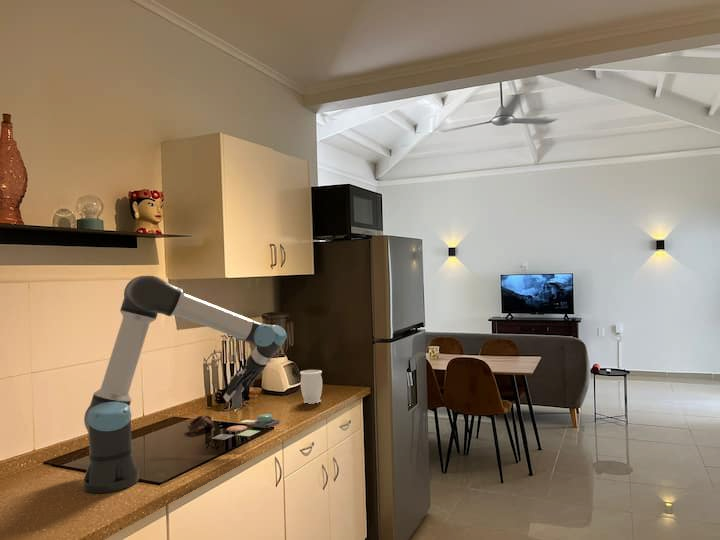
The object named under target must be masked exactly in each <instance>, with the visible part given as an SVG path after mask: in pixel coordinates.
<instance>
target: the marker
mask: <svg viewBox="0 0 720 540" xmlns="http://www.w3.org/2000/svg"><path fill="white" fill-rule="evenodd" d="M233 377H234V376H231V377H230V381H231V380H232V379H233ZM241 385H242V384H241ZM241 385H240V386H239V387H238V388H237V389H236V392H235V393H234V395H233V396H232V397H231V402H232V403H231V406H232V409H241V408H243V395H242V393H243V391H242V390H241Z"/></svg>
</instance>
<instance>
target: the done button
mask: <svg viewBox="0 0 720 540" xmlns="http://www.w3.org/2000/svg"><path fill="white" fill-rule="evenodd" d="M273 419H274V418H273V414H271V413H270V414H269V413H267V414H266V413H265V414H259V415H257V419H256V421H258V423H259V424H269V423H271V422H272V421H273Z"/></svg>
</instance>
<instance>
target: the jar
mask: <svg viewBox="0 0 720 540" xmlns="http://www.w3.org/2000/svg"><path fill="white" fill-rule="evenodd" d="M322 373H323V371H322V370H320V369H306V370H301V371H300V373H299V374H300V375H301V376H300V389H301V394H302V398H303V402H304V403H303V404H305V403H308V404H307V405H315V403H317V404H319V402H320V403H321V402H322V400H321V399H320V398H321V396H322V392H323V378H322Z"/></svg>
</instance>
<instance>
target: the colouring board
mask: <svg viewBox="0 0 720 540" xmlns="http://www.w3.org/2000/svg"><path fill="white" fill-rule="evenodd" d="M272 419H273V421H272V422H268V423H258V421H257V420H254V419H253V420H251V419H244V420H242V421H240V423H250V427H252V428H259V429H260V428H263V429H269V428H272V427H274V426H276V425H278V424H280V419H276V418H272ZM247 428H248V427H247V426H246V425H232V426H229V427H227V428H226V431H227V432H239V433H238V434H236V436H243V437H251V436H253V435H255V434H257V433H260V432H261V430H254V429H253V430H252V429H247ZM240 431H241V432H240ZM234 436H235V434H228V433H221V434H218V435H216V436H213V437H211V439H214V440H223V441H225V440H227V439H230V438H233V437H234Z"/></svg>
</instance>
